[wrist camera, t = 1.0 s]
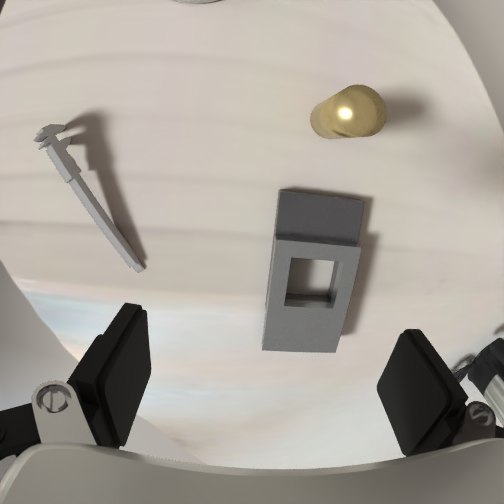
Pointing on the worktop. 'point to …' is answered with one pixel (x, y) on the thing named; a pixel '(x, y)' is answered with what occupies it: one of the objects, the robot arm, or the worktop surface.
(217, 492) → the robot arm
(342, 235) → the grey socket block
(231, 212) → the worktop surface
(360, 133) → the pin
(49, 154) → the caliper
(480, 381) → the milk frother
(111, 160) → the worktop surface
